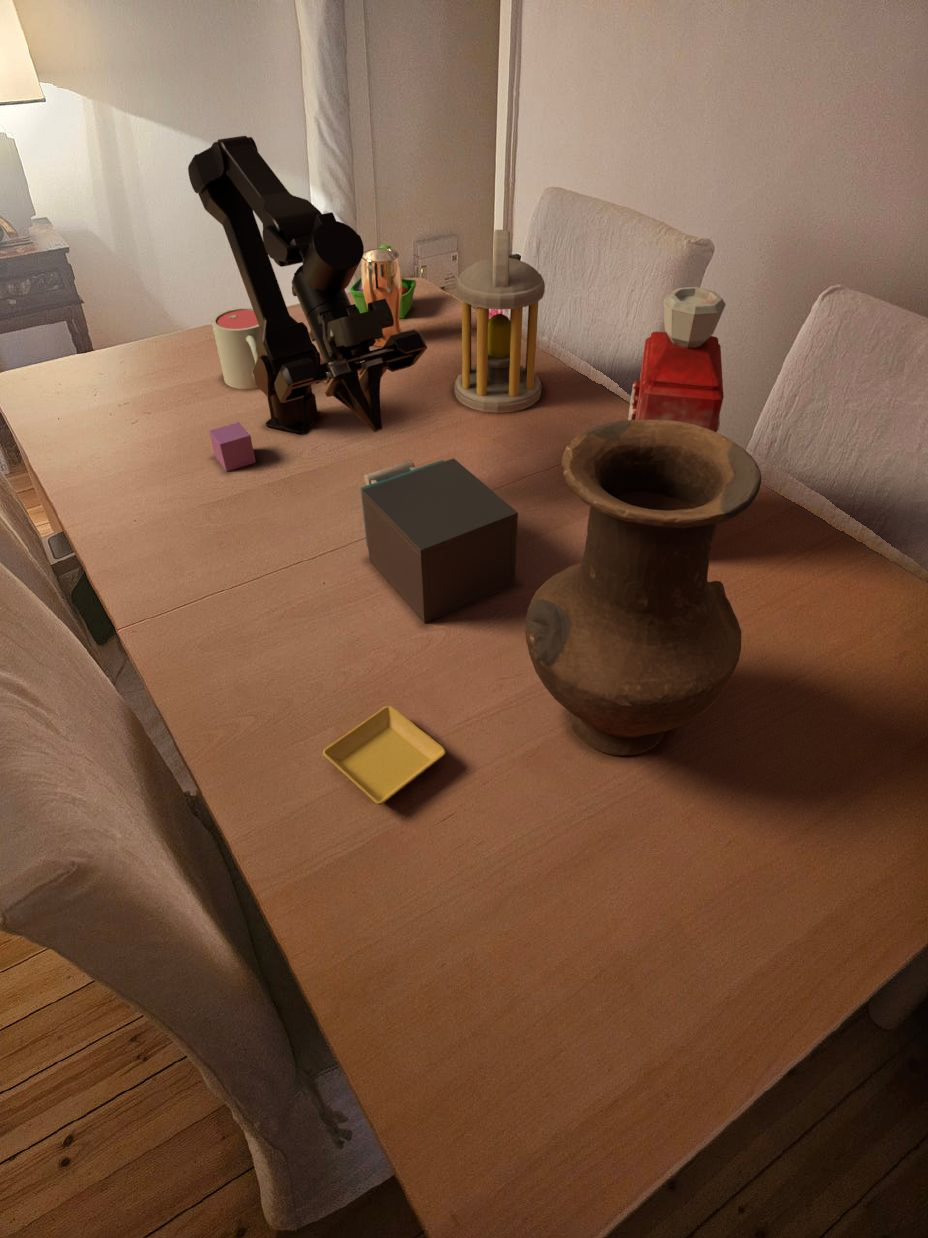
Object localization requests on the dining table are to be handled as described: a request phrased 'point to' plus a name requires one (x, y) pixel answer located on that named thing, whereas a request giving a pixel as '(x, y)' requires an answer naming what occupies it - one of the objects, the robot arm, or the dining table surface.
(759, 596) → the dining table surface
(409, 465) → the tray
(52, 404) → the dining table surface
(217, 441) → the pink cube
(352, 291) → the fruit basket
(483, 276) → the lantern
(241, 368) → the mug
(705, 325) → the bottle
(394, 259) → the beer glass
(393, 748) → the yellow square dish
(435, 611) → the dark grey box-shaped block
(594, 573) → the vase
